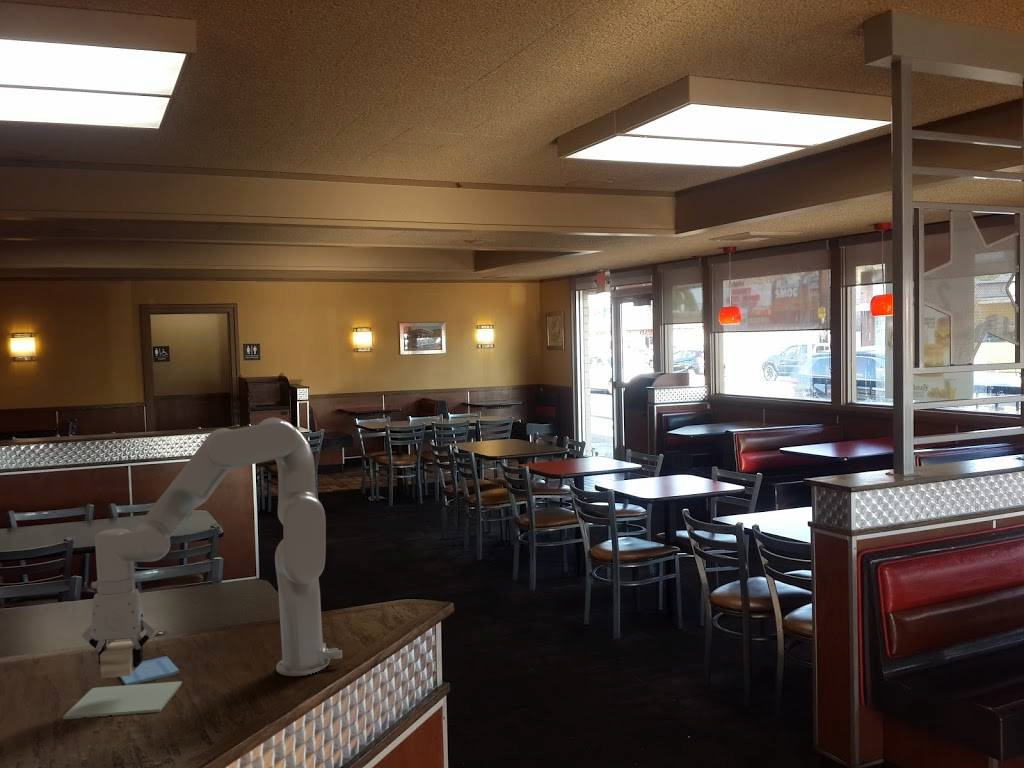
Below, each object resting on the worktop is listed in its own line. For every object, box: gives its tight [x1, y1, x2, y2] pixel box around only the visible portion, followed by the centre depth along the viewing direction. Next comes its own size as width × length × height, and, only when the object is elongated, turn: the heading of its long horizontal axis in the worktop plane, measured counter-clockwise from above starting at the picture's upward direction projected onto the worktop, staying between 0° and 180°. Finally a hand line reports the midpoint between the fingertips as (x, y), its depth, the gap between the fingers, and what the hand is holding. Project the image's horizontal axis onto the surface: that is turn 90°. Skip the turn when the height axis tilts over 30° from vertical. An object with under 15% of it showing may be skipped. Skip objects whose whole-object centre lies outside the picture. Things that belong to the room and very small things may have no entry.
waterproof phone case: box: [119, 655, 180, 686], centre depth 217 cm, size 14×12×1 cm
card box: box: [99, 640, 137, 679], centre depth 199 cm, size 9×6×5 cm, turn 9°
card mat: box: [62, 680, 183, 720], centre depth 199 cm, size 20×16×1 cm
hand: (121, 665), depth 199 cm, fingers closed on card box, 6 cm apart
